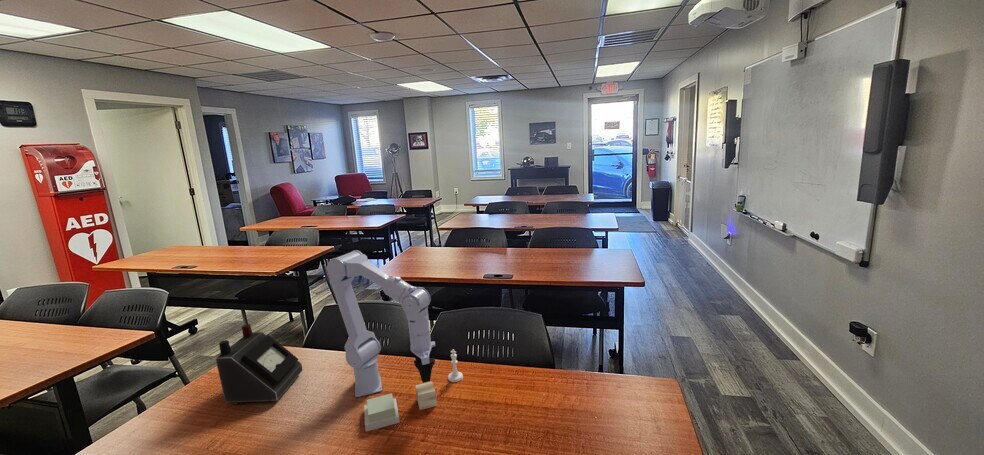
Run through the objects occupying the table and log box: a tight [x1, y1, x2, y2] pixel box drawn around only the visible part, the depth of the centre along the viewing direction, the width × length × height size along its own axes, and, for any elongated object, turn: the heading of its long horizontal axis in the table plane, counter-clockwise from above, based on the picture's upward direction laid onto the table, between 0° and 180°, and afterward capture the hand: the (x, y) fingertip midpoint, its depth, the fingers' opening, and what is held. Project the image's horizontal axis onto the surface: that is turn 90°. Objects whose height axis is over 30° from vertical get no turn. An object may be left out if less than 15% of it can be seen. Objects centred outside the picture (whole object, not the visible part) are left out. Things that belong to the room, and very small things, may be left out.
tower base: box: [363, 397, 400, 432], centre depth 113 cm, size 9×9×2 cm
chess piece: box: [447, 348, 464, 383], centre depth 129 cm, size 5×5×10 cm
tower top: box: [366, 392, 396, 423], centre depth 113 cm, size 7×7×2 cm
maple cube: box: [415, 380, 438, 411], centre depth 118 cm, size 5×5×5 cm
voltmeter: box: [214, 323, 304, 404], centre depth 128 cm, size 16×16×20 cm
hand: (424, 374), depth 116 cm, fingers open, 7 cm apart
